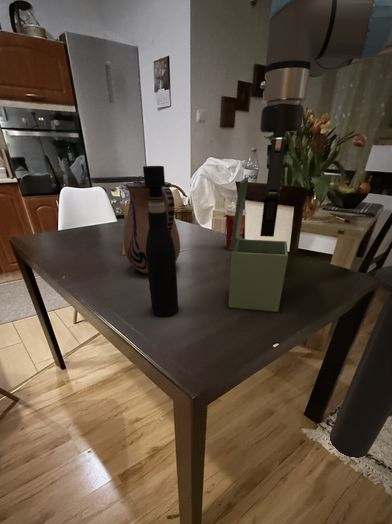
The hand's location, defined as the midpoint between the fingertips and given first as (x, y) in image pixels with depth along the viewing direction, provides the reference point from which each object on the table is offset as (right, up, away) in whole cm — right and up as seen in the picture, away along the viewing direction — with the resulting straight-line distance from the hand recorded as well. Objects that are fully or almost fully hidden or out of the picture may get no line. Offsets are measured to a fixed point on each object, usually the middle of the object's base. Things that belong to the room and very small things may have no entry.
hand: (267, 228), depth 64 cm
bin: (-1, -14, +10) cm, 18 cm away
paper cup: (-1, +12, +48) cm, 50 cm away
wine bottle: (-24, -18, +6) cm, 31 cm away
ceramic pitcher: (-29, -2, +28) cm, 41 cm away
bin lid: (-6, +3, -1) cm, 7 cm away
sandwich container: (-40, +13, +49) cm, 65 cm away
